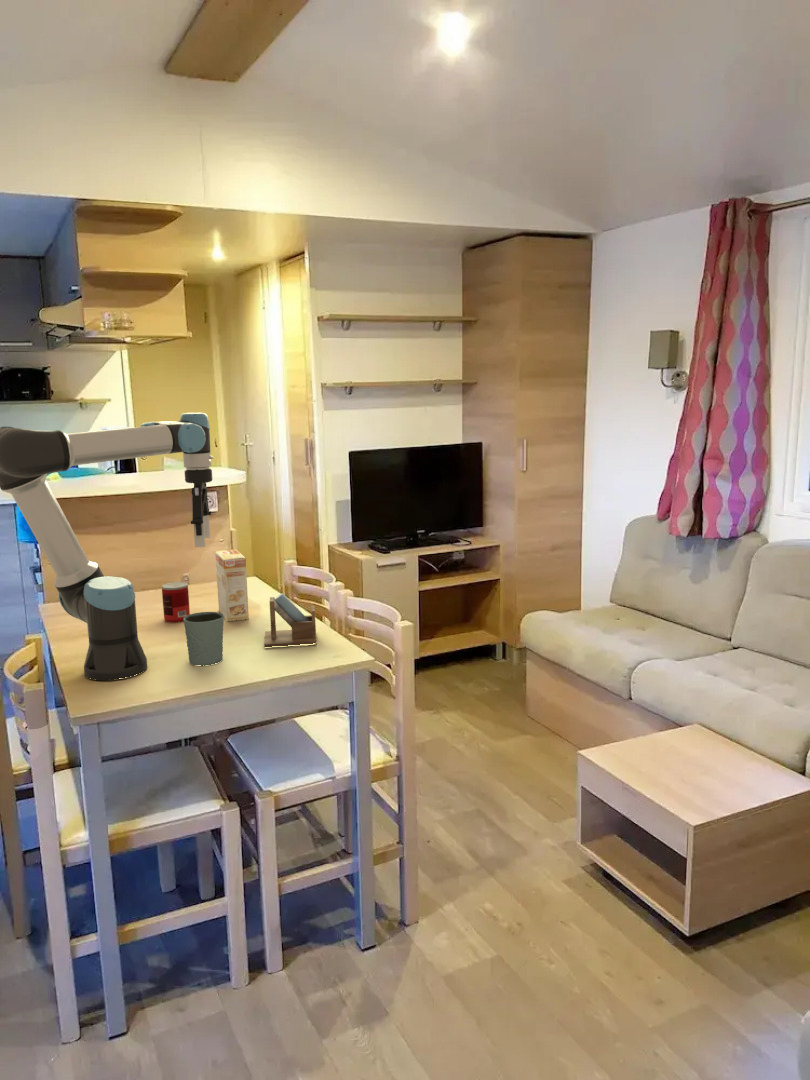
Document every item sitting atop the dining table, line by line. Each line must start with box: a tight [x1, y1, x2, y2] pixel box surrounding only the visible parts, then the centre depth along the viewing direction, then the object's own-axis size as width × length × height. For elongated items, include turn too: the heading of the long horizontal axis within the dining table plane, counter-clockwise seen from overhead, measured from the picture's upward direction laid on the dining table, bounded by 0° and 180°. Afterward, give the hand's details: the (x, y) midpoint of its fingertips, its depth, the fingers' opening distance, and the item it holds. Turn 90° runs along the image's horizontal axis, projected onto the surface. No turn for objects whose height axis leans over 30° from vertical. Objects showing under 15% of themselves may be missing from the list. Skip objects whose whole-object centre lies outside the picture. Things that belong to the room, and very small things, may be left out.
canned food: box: [161, 581, 191, 624], centre depth 250 cm, size 8×8×11 cm
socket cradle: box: [263, 596, 317, 648], centre depth 227 cm, size 12×14×12 cm
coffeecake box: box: [214, 548, 250, 622], centre depth 253 cm, size 15×7×20 cm, turn 22°
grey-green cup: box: [183, 611, 225, 667], centre depth 211 cm, size 10×10×12 cm
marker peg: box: [274, 592, 309, 622], centre depth 227 cm, size 3×3×12 cm
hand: (202, 542), depth 232 cm, fingers open, 13 cm apart
